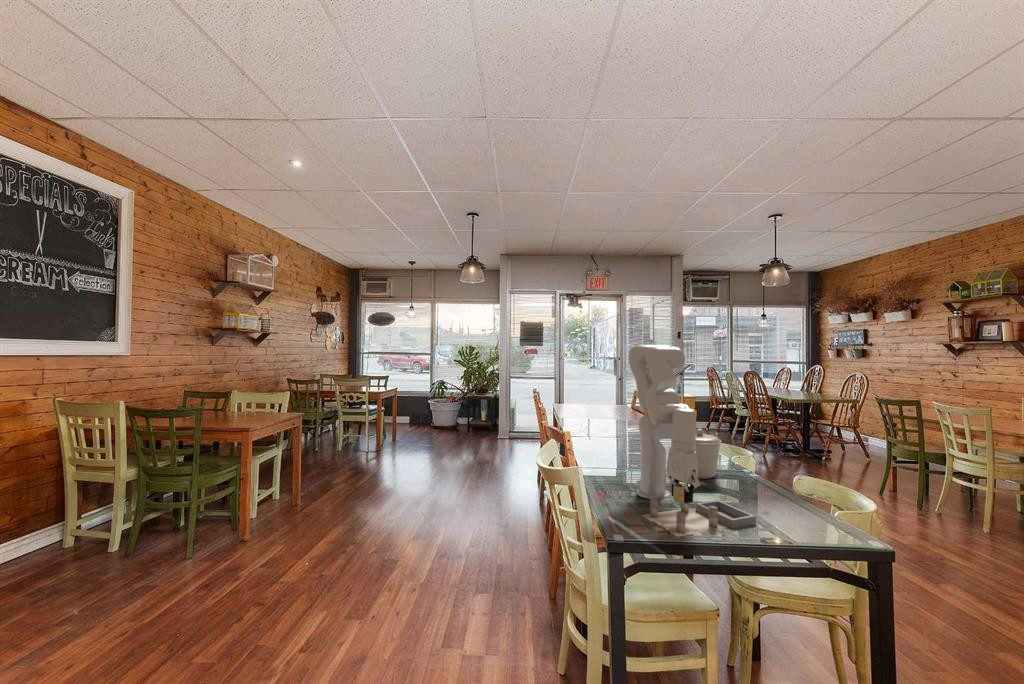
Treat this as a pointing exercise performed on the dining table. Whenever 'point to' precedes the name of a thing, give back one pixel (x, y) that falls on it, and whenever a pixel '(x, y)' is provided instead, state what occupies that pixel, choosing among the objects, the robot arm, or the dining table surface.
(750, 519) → the tray
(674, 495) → the tan faceted piece
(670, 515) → the spacer board
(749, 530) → the dining table surface
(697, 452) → the canister
